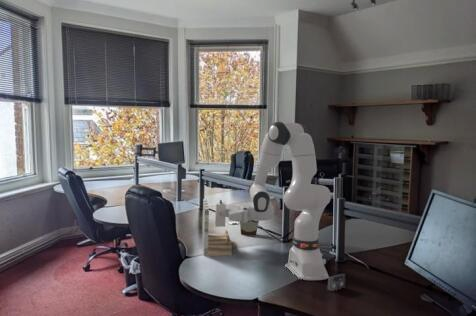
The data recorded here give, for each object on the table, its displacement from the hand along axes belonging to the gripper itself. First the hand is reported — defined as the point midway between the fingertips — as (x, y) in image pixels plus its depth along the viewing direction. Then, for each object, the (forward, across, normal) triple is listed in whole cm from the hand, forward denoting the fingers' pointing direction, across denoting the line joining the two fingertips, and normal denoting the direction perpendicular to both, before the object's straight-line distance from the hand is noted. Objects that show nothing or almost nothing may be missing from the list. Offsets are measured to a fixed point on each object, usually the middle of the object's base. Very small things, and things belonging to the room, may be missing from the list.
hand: (218, 212), depth 197 cm
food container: (-21, -23, +19) cm, 36 cm away
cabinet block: (-1, 0, +7) cm, 7 cm away
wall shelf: (0, +1, +19) cm, 19 cm away
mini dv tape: (-46, +53, +19) cm, 73 cm away
